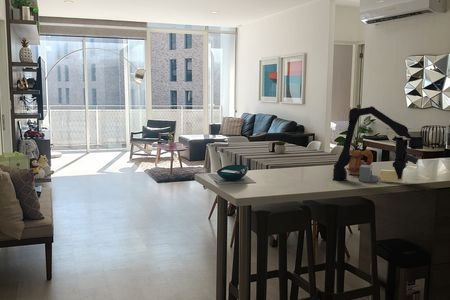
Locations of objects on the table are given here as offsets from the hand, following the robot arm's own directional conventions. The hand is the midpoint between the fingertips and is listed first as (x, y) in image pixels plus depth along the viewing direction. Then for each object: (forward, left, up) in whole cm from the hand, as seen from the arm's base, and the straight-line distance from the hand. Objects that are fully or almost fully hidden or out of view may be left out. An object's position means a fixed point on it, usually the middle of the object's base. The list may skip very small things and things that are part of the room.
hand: (400, 178), depth 232 cm
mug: (-24, +17, -2) cm, 29 cm away
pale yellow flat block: (-4, 0, -1) cm, 4 cm away
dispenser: (-16, 0, -2) cm, 16 cm away
